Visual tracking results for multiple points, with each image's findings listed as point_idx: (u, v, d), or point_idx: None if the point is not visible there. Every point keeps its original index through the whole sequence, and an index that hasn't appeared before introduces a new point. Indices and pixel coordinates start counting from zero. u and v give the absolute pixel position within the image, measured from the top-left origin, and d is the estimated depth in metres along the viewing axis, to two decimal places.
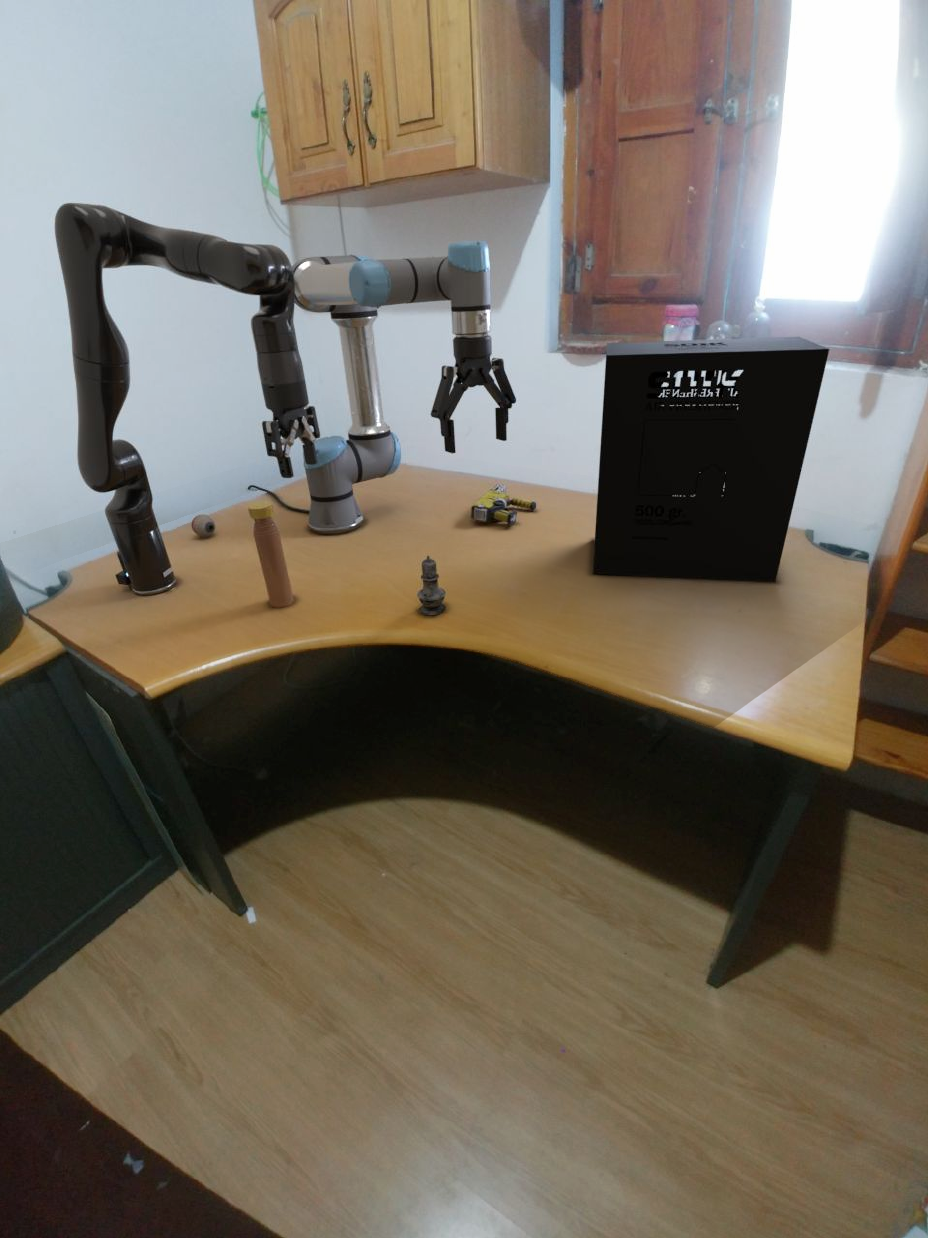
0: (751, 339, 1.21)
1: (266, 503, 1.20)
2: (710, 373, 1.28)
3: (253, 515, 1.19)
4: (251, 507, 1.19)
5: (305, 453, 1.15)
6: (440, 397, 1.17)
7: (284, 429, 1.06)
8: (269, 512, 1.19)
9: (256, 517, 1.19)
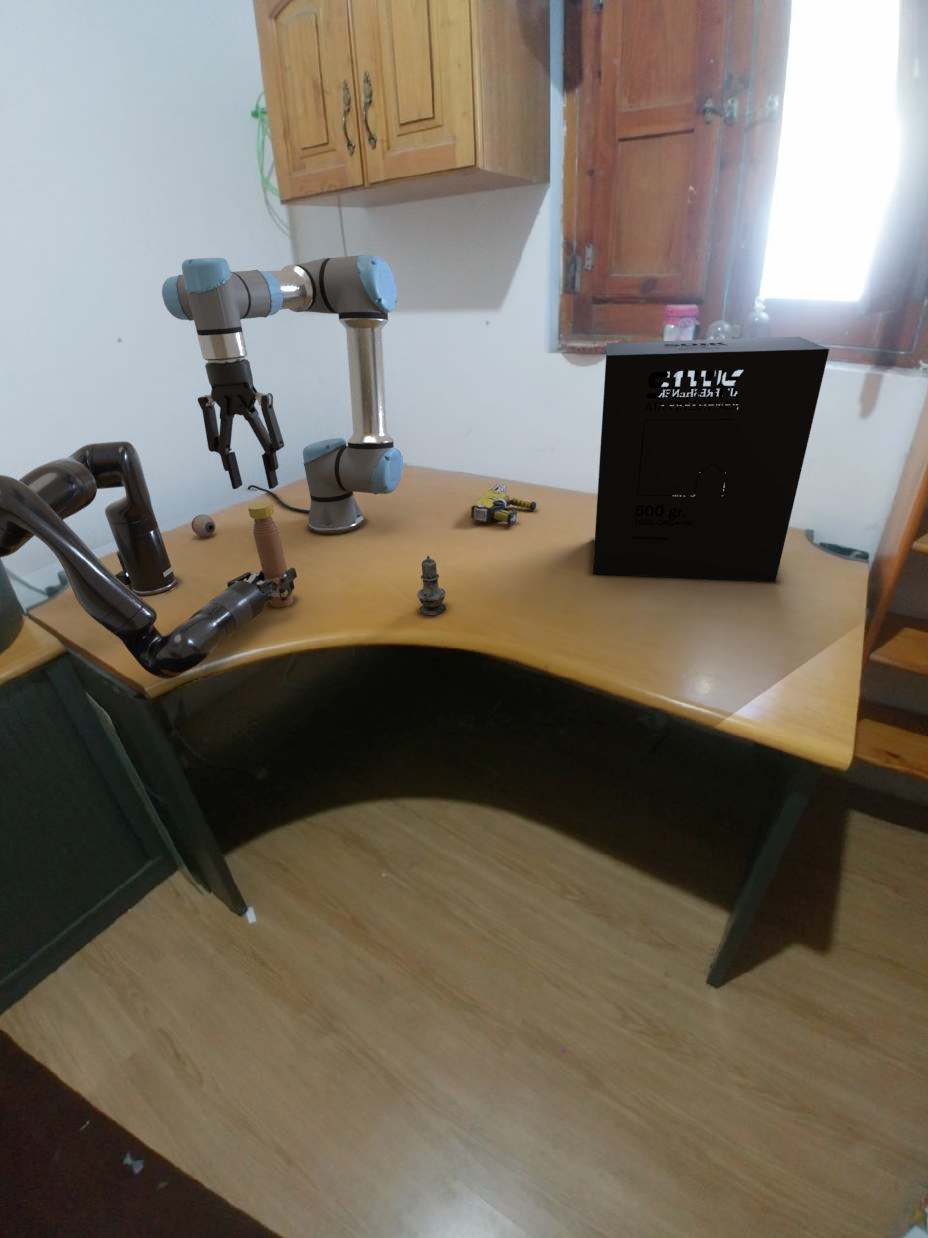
0: (751, 339, 1.21)
1: (266, 503, 1.20)
2: (710, 373, 1.28)
3: (253, 515, 1.19)
4: (251, 507, 1.19)
5: None
6: (277, 427, 1.12)
7: None
8: (269, 512, 1.19)
9: (256, 517, 1.19)
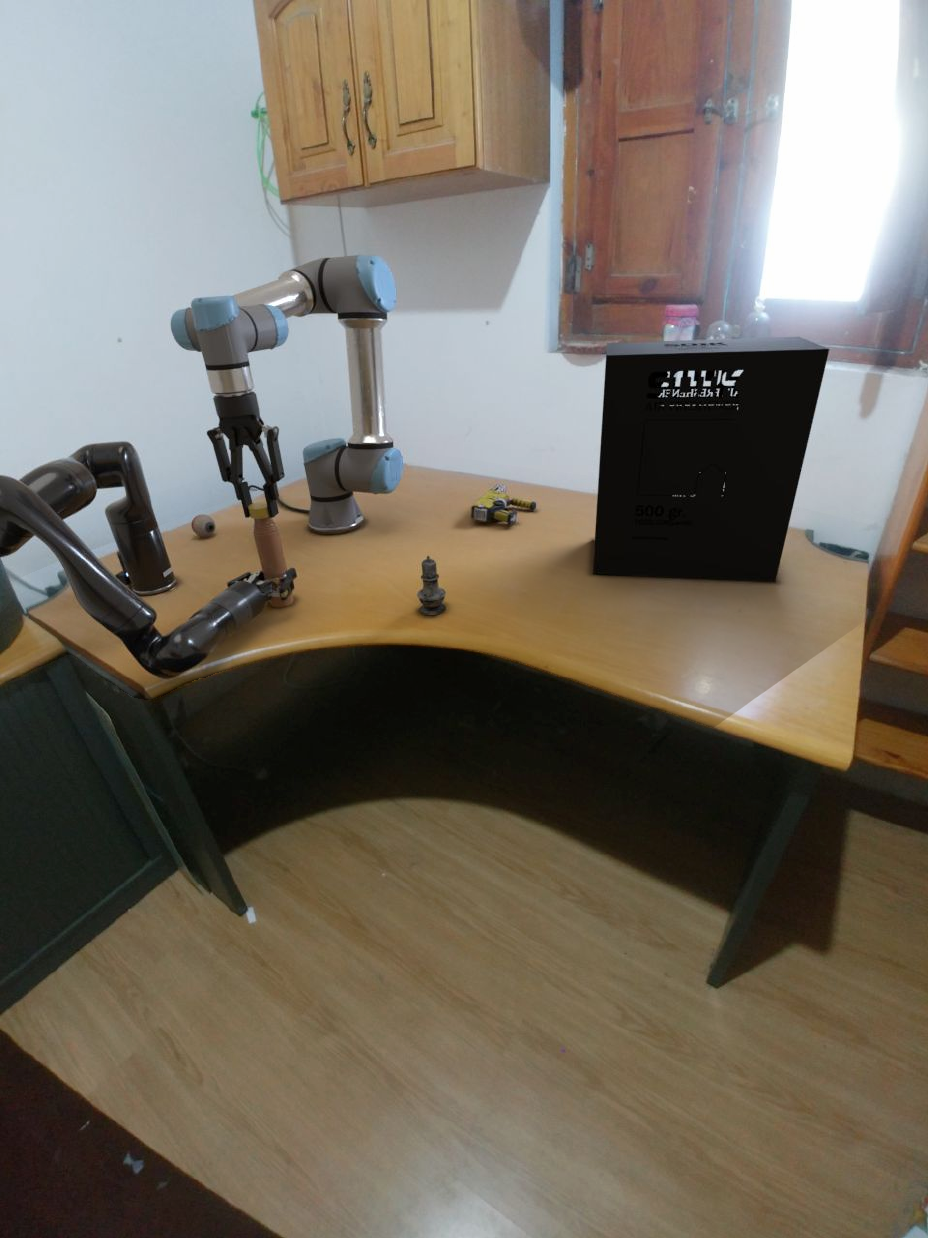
0: (751, 339, 1.21)
1: (266, 503, 1.20)
2: (710, 373, 1.28)
3: (253, 515, 1.19)
4: (251, 507, 1.19)
5: None
6: (279, 459, 1.15)
7: None
8: None
9: (256, 517, 1.19)
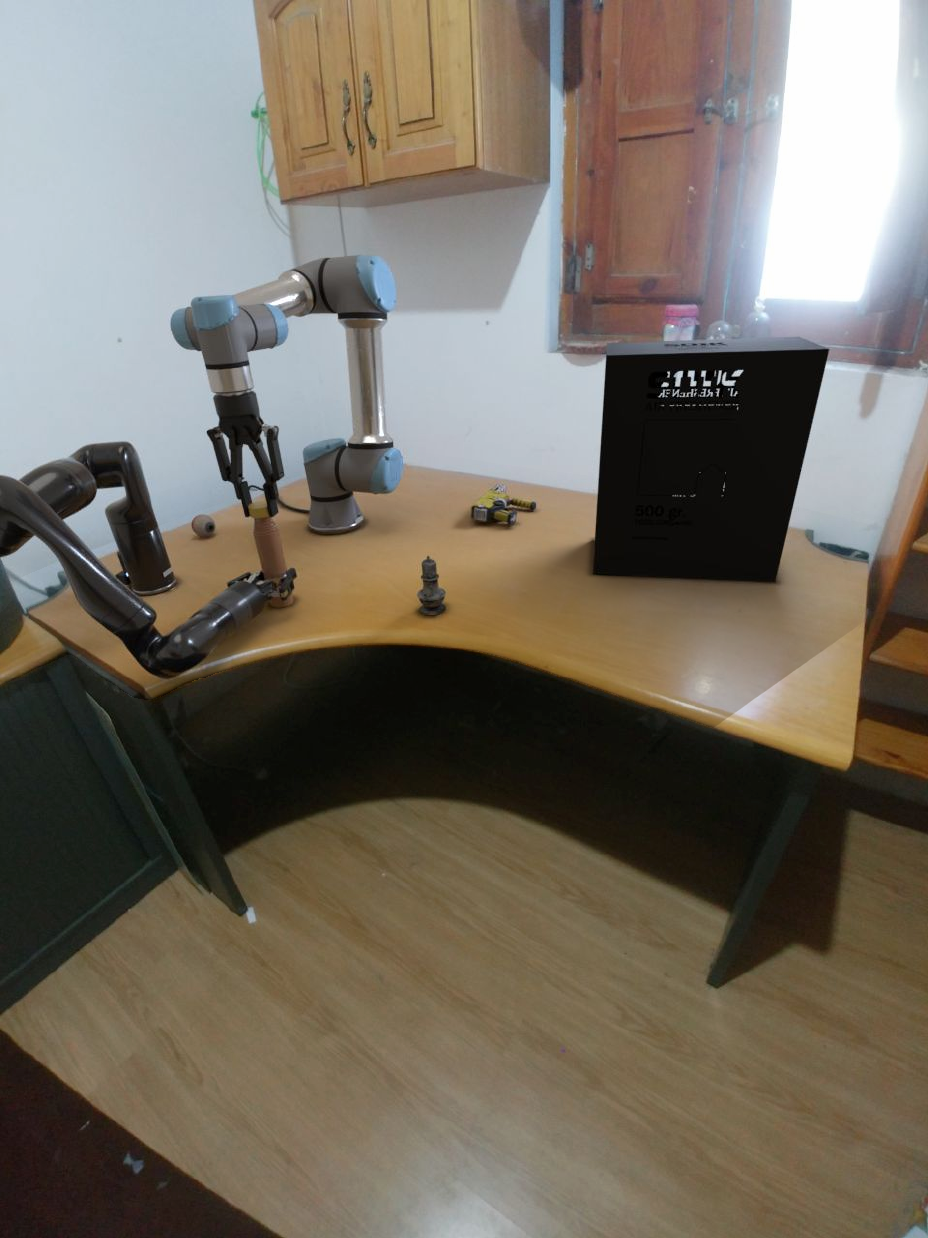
0: (751, 339, 1.21)
1: (254, 503, 1.20)
2: (710, 373, 1.28)
3: None
4: (266, 505, 1.19)
5: None
6: (279, 459, 1.15)
7: None
8: None
9: None
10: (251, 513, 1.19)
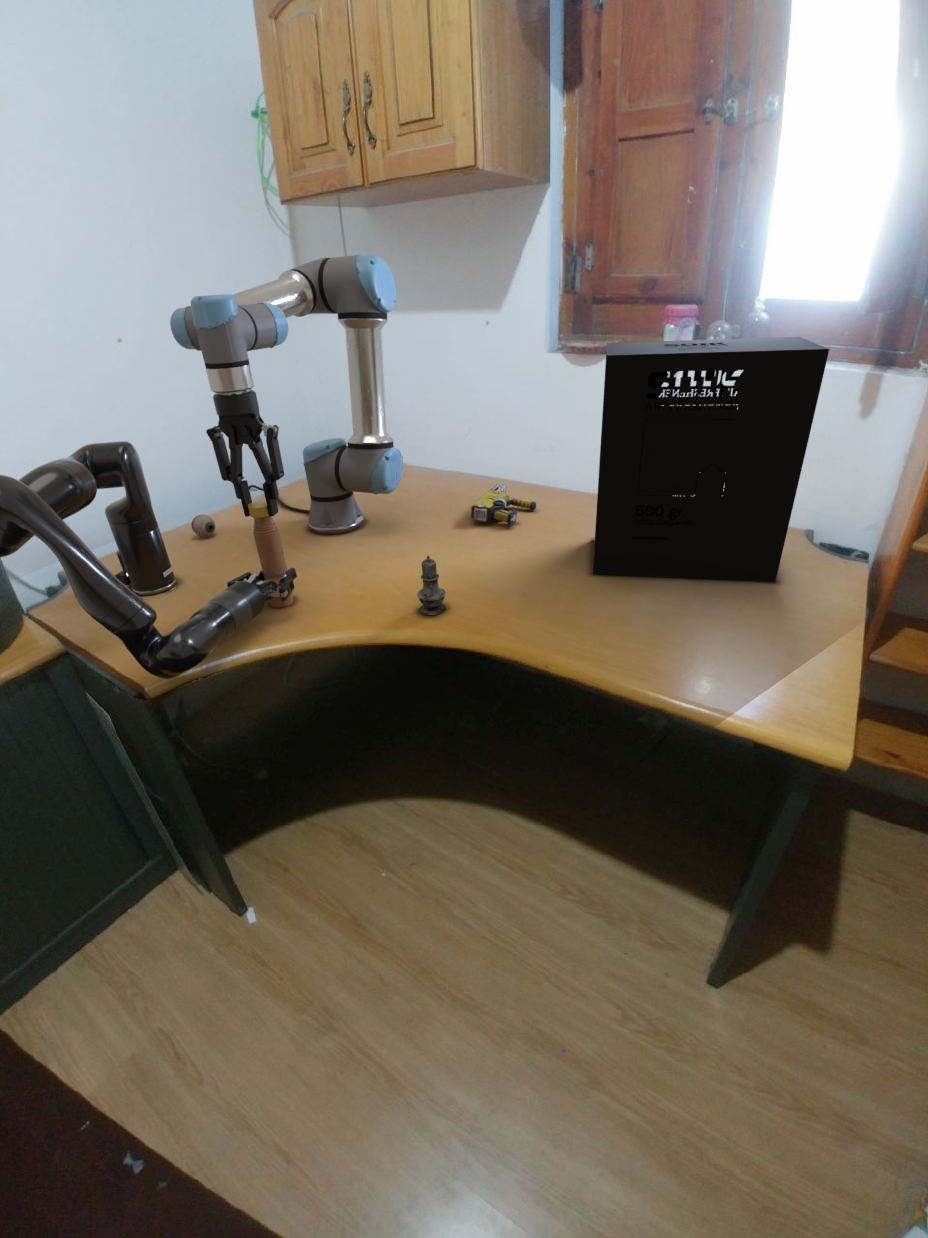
0: (751, 339, 1.21)
1: (256, 506, 1.18)
2: (710, 373, 1.28)
3: None
4: (263, 501, 1.21)
5: None
6: (279, 458, 1.15)
7: None
8: None
9: None
10: None
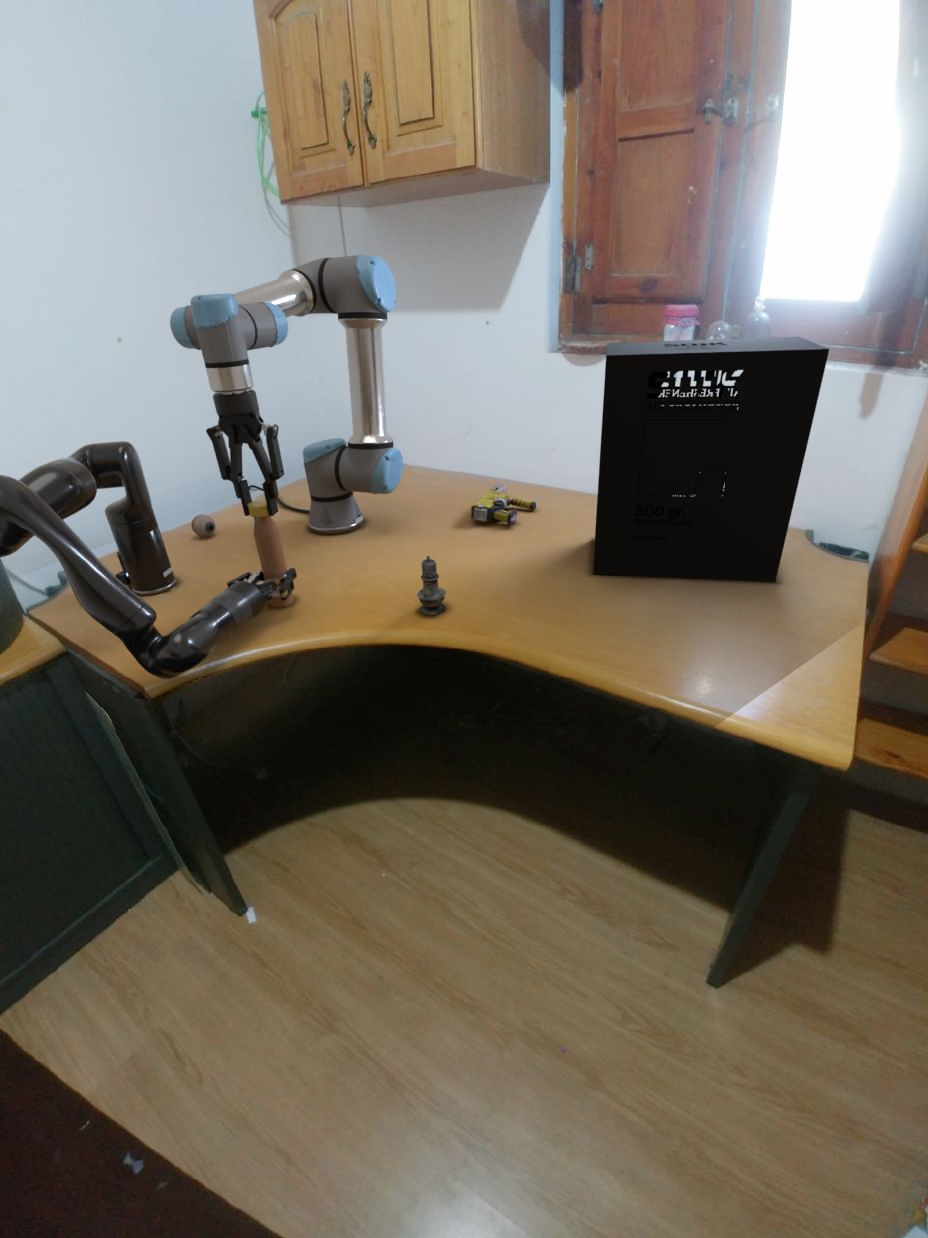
0: (751, 339, 1.21)
1: None
2: (710, 373, 1.28)
3: (250, 512, 1.19)
4: (250, 504, 1.19)
5: None
6: (279, 457, 1.15)
7: None
8: (264, 512, 1.19)
9: (251, 515, 1.19)
10: None
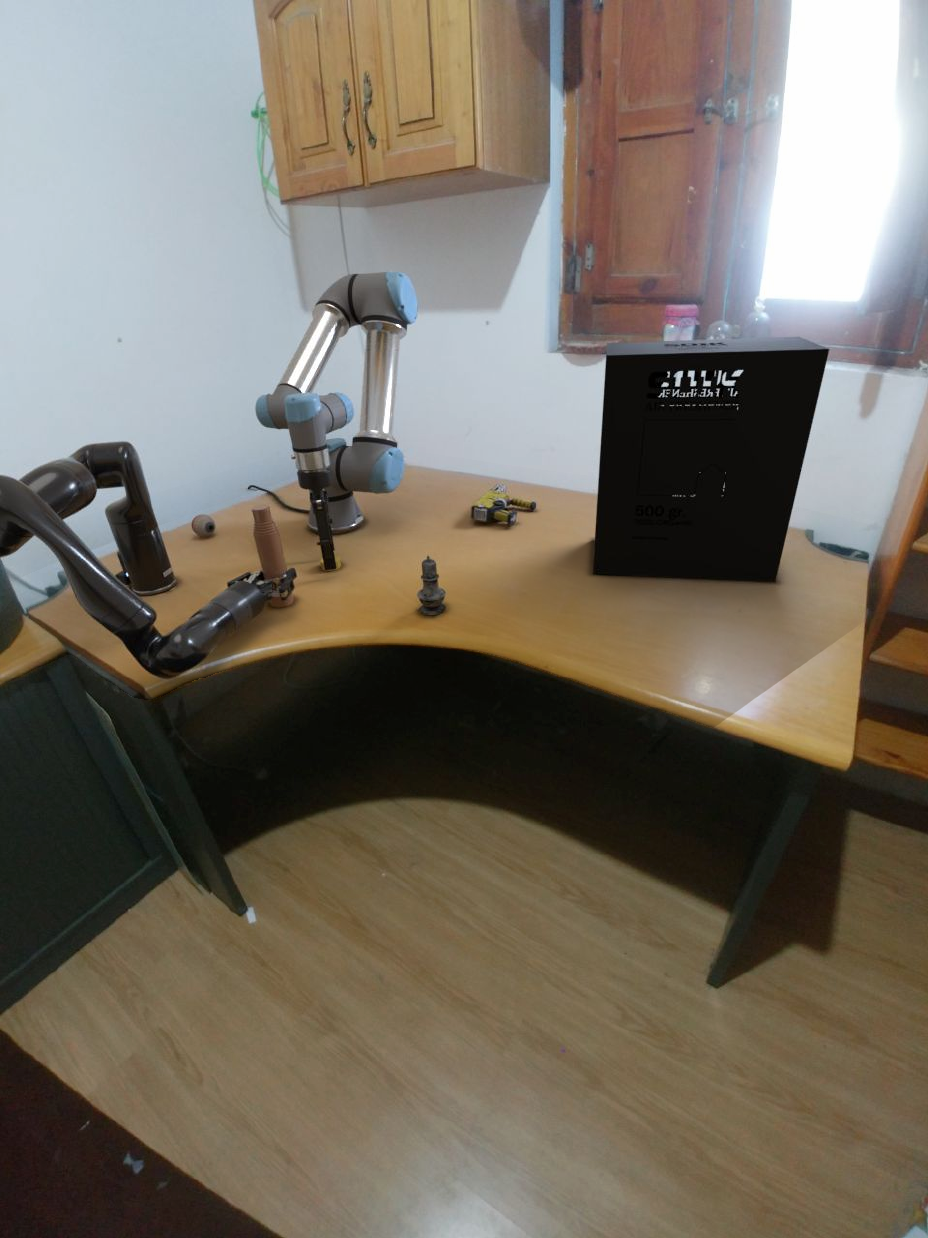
0: (751, 339, 1.21)
1: None
2: (710, 373, 1.28)
3: (337, 566, 1.44)
4: None
5: None
6: None
7: None
8: None
9: (339, 566, 1.44)
10: (321, 565, 1.44)
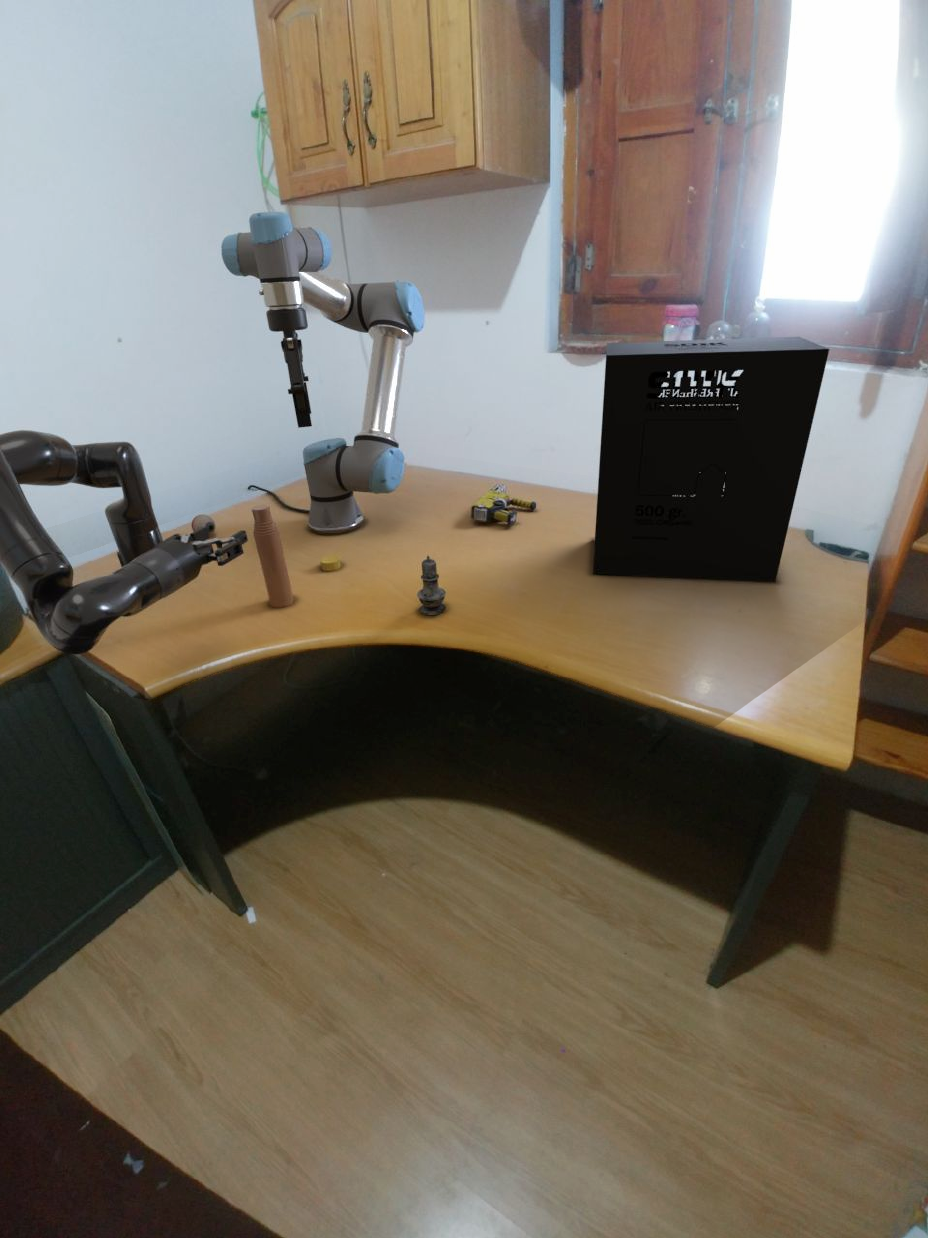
0: (751, 339, 1.21)
1: (327, 557, 1.45)
2: (710, 373, 1.28)
3: (337, 566, 1.44)
4: (333, 561, 1.43)
5: None
6: None
7: None
8: None
9: (339, 566, 1.44)
10: (321, 565, 1.44)
